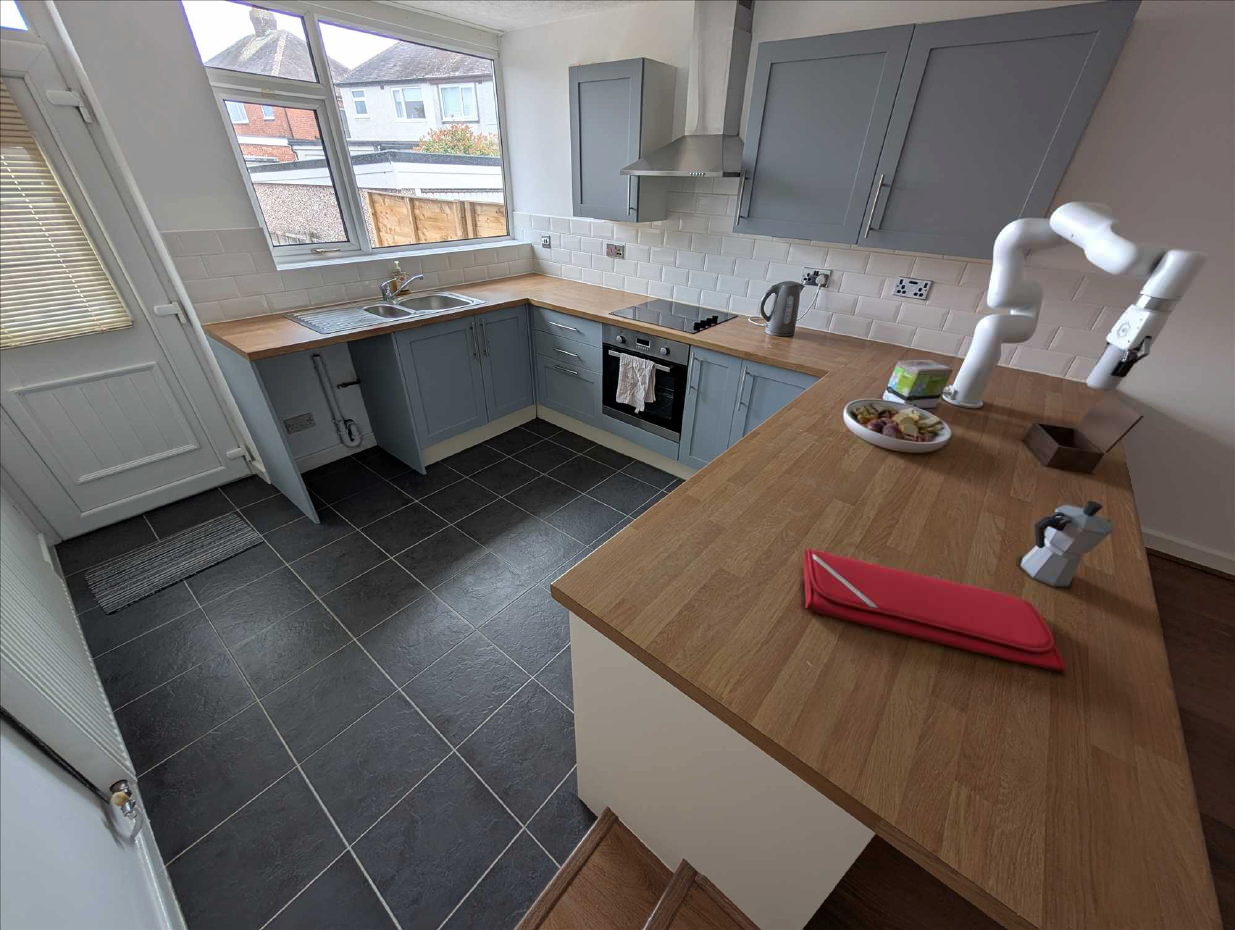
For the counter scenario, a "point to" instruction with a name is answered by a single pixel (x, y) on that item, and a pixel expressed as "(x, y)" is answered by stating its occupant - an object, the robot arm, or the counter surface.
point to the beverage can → (1107, 370)
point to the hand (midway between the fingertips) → (1110, 370)
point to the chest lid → (1108, 422)
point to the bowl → (896, 425)
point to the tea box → (917, 383)
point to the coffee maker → (1065, 542)
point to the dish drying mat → (929, 609)
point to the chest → (1063, 447)
